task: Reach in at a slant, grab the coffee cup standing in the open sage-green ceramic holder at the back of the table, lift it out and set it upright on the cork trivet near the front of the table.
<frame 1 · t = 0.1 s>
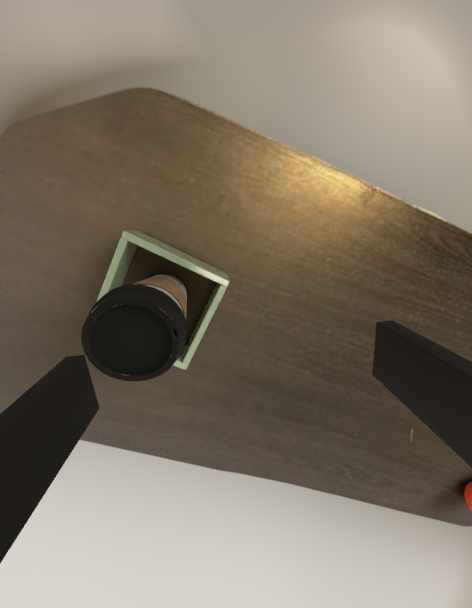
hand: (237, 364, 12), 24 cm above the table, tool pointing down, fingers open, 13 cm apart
coffee cup: (165, 295, 35), resting in holder
holder: (165, 295, 35), on the table
clementine: (471, 481, 50), on the table
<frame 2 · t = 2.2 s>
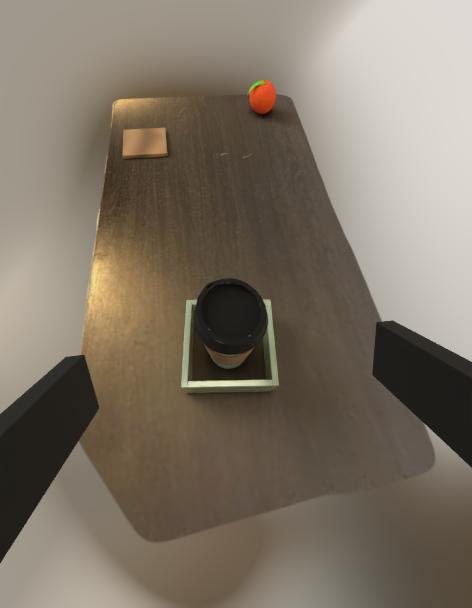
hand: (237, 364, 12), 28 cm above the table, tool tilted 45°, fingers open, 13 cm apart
trivet: (145, 144, 62), on the table
coffee cup: (228, 350, 41), resting in holder
holder: (228, 350, 40), on the table
clementine: (259, 113, 71), on the table
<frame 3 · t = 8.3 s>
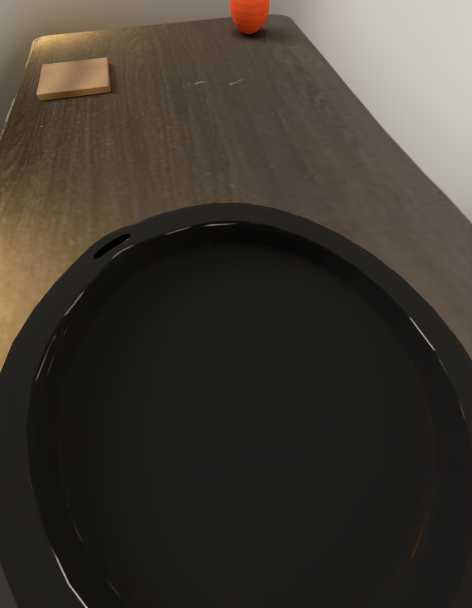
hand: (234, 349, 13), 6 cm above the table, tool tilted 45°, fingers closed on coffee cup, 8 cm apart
trivet: (77, 81, 40), on the table
coffee cup: (241, 428, 17), resting in holder, touching gripper
clementine: (246, 35, 49), on the table
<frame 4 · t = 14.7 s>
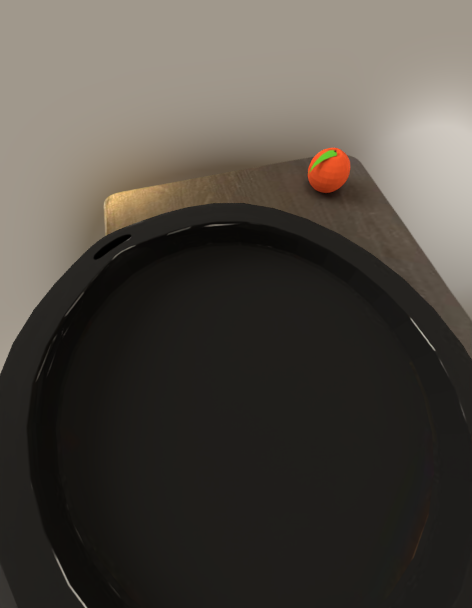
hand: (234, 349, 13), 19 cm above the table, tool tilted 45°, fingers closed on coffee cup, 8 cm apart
coffee cup: (241, 429, 17), point 13 cm above the table, touching gripper
clementine: (320, 190, 48), on the table
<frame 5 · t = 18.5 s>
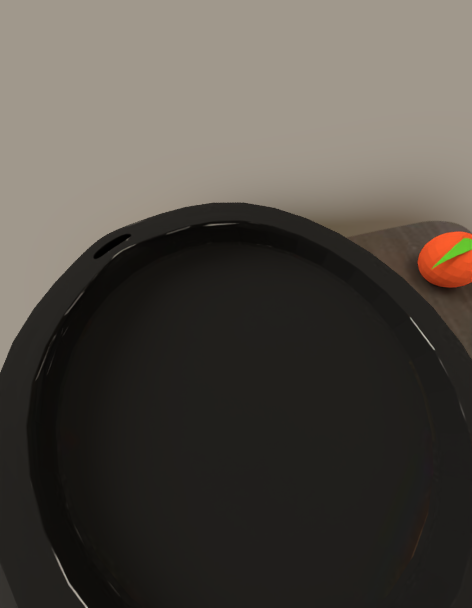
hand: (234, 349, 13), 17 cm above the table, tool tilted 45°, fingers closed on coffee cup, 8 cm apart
coffee cup: (241, 429, 17), point 11 cm above the table, touching gripper
clementine: (429, 278, 36), on the table
when the fingers open (7 cm above the table, at t = 21.6 s): coffee cup stays where it is, resting on trivet.
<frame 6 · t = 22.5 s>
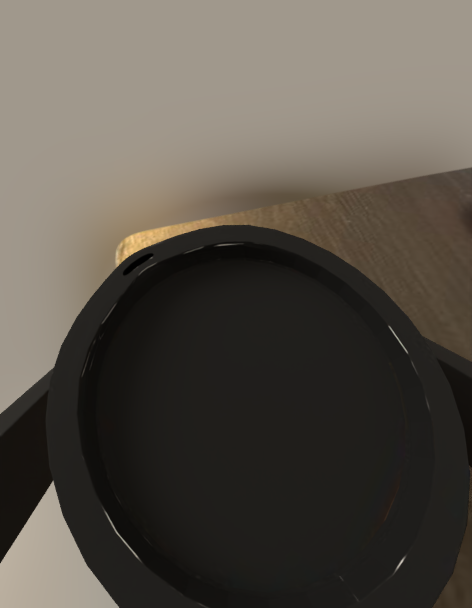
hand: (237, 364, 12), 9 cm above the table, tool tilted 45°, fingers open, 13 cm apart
coffee cup: (243, 424, 18), point 1 cm above the table, touching trivet
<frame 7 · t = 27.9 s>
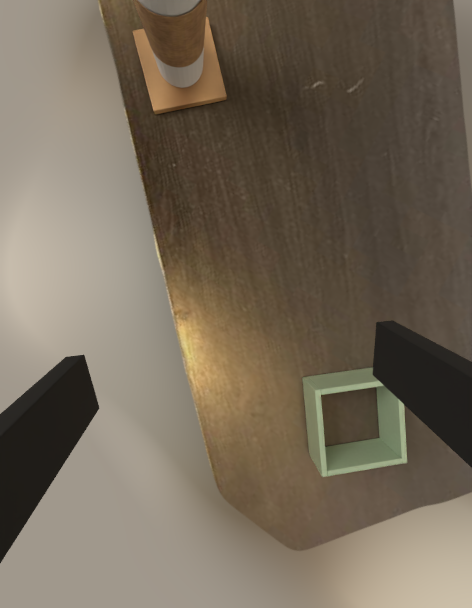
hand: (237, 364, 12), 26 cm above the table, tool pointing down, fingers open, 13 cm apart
trivet: (181, 69, 35), on the table
coffee cup: (180, 65, 34), point 1 cm above the table, touching trivet
holder: (344, 410, 41), on the table
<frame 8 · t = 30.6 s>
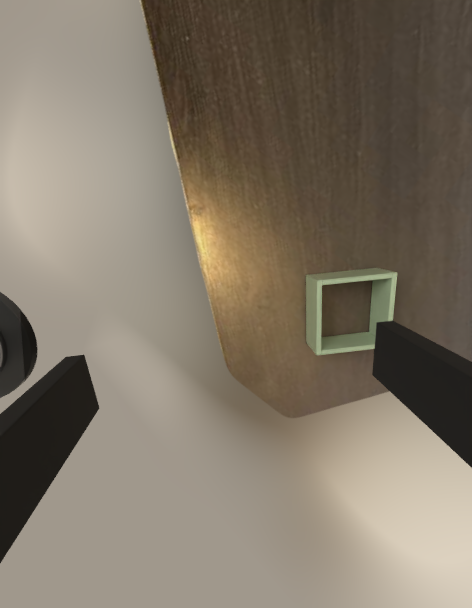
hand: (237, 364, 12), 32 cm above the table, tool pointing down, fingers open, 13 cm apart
holder: (340, 306, 46), on the table
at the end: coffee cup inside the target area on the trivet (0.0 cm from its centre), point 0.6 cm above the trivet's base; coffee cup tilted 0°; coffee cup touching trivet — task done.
